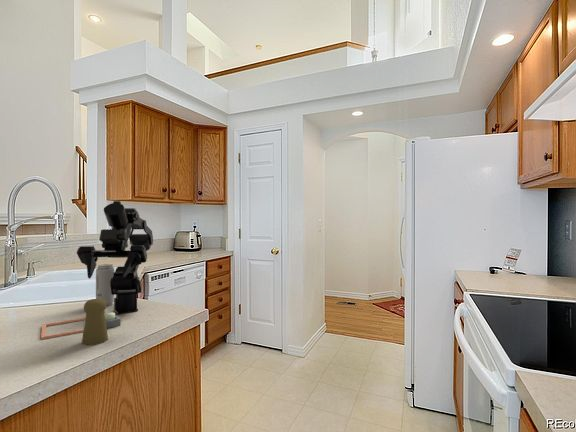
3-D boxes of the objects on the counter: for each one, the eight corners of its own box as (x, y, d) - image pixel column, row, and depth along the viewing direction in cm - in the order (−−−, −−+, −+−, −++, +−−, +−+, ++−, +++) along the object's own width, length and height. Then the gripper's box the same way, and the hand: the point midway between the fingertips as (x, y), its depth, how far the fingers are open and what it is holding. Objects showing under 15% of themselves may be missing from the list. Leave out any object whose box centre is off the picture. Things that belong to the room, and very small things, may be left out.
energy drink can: (94, 304, 119) (94, 264, 119) (111, 301, 123) (112, 263, 123) (97, 307, 114) (98, 266, 114) (116, 304, 118) (116, 265, 118)
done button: (114, 319, 98) (114, 312, 98) (115, 322, 96) (115, 314, 96) (103, 321, 97) (104, 313, 97) (105, 323, 94) (105, 315, 94)
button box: (117, 321, 100) (117, 314, 100) (120, 325, 96) (120, 319, 96) (99, 324, 97) (99, 317, 97) (101, 329, 93) (101, 322, 93)
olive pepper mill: (113, 338, 86) (113, 297, 86) (93, 346, 80) (93, 303, 80) (96, 335, 88) (97, 295, 88) (76, 343, 82) (76, 301, 82)
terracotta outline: (92, 318, 103) (92, 316, 103) (97, 329, 93) (97, 327, 93) (42, 326, 95) (42, 324, 95) (41, 339, 85) (41, 337, 85)
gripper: (79, 219, 95) (60, 261, 85) (145, 219, 99) (135, 259, 88) (90, 243, 103) (74, 284, 92) (150, 242, 107) (142, 282, 96)
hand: (106, 277), depth 92 cm, fingers open, 9 cm apart
